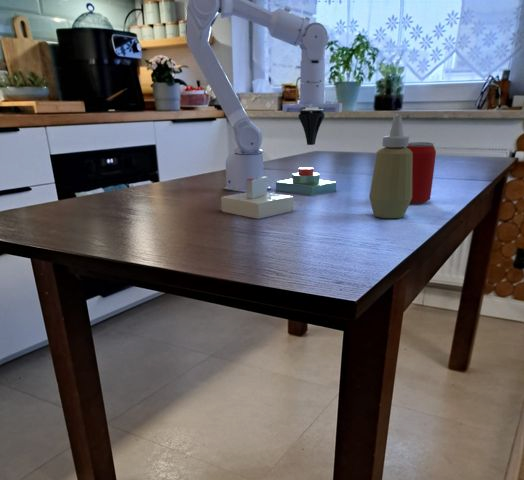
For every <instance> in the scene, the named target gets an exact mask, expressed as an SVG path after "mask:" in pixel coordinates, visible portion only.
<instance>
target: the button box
mask: <svg viewBox="0 0 524 480" xmlns="http://www.w3.org/2000/svg"><path fill="white" fill-rule="evenodd" d="M291 176H292V178H289V179H284V180H278V181H275V191H277V192H285V193H291V194H298V195H304V196H310V197H311V196H312V197H313V196H317V195H323V194H327V193H333V192H336V191H337V181H332V180H323V179H320V173H318V172H313V175H299V172H294V173H292V175H291Z"/></svg>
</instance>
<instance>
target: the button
mask: <svg viewBox="0 0 524 480" xmlns="http://www.w3.org/2000/svg"><path fill="white" fill-rule="evenodd" d="M298 173H299V175H313V173H314V167H311V166H307V167H306V166H305V167H304V166H302V167H299V168H298Z"/></svg>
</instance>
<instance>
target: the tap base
mask: <svg viewBox="0 0 524 480" xmlns="http://www.w3.org/2000/svg"><path fill="white" fill-rule="evenodd" d="M220 199H221V200H220V201H221V202H220V203H221V212H223V213H228V214H232V215H237V216H242V217H246V218H250V219H251V218H252V219H257V220H260V219H265V218H268V217H273V216H277V215H282V214H286V213H291V212H294V196H293V195H287V194H281V193H276V192H268V191H267V194H266V195H263V196H260V197H257V198H254V199H248V198H246V192H240V193H235V194H229V195H224V196H221V198H220Z"/></svg>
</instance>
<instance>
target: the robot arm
mask: <svg viewBox="0 0 524 480" xmlns="http://www.w3.org/2000/svg"><path fill="white" fill-rule="evenodd" d="M291 10H292V9H291V8H289V7H287V6H285V7H284V9H283V8H281V7H279V8H277V9H275V10H274V11H271V10H270V9H267V8H265V7H263V6H260V5H259V4H257V3H255V2H252V1H250V0H188V1H187V5H186V37H185V38H186V44H187V47H188V48H189V51H190V52H191V54H192V57H193V58H194V60H195V62H196V64H197V66H198V67H199V69H200V71H201V73H202V74H203V76H204V78H205V80H206V83H208V86H209V88H210V89H211V91H212V93H213V95H214V96H215V98H216V100H217V103H218V104H219V106H220V107H221V109H222V112H223V113H224V114H225V115H224V116H225V117H226V119H227V120H228V122H229V124H230V126H231V127H232V129H233V133H234V141H235V143H236V145H237V146H236V148H235V149H233V152H231V153H229V154H228V155H227V157H226V160H225V177H226V179H225V180H226V186H224V190H229V191H233V192H240V193H246V180H247V179H249V178H252V179H253V178H257V177H261V176H262V177H264V150H263V149H261V148H260V147H261V145H262V143H263V134H262V131H261V130H260V127H258V126H257V125H255V124H254V123H253V122H252V121H251V119H250V118H249V116H248V114H247V112H246V110H245V109H244V107H243V105H242V103H241V101H240V99H239V96H238V95H237V93H236V91H235V90H234V88H233V86H232V83H231V82H230V80H229V79H228V77H227V74H226V73H225V71H224V68H223V66H222V64H221V63H220V62H219V60H218V57H217V56H216V54H215V52H214V50H213V48H212V46H211V44H210V42H209V41H210V36H211V32H212V27H213V25H214V24H215V22H216V20H217V18H218V17H219V14H220V18H221V19H225V18H228V17H233V16H235V17H237V18H240V19H243V20H245V21H249V22H251V23H254V24H257V25H259V26H262V27H264V28H266V29H267V30H268V33H269V35H270V36H271V37H272V38H275V39H277V40H279V41H281V42H284V43H286V44H289V45H291V46H294V47H299V48H300V50H301V57H300V58H301V59H300V74H299V75H300V76H299V77H300V78H299V79H300V80H299V81H300V83H299V103H282V113H283V114H284V113H285V114H287V113H299V114H298V119H299V121H300V123H301V126H302V129H303V131H304V136H305V139H306V140H305V141H306V146H314V145H316V140H317V136H318V133H319V130H320V127H321V124H322V123H323V120H324V118H325V113H343V102H333V103H331V102H330V103H329V102H326V103H325V78H326V47H327V45H328V44H329V39H330V37H329V35H328V30H327V28H326V27H325V26H324V25H323V24H322V23H320V22H315V21H314V22H311V18H310V17H308V16H305V17H302V16H299V15H297V14H295V13H293V12H291ZM307 108H308V109H307ZM309 108H311V109H309ZM312 108H313V109H312ZM314 108H317V109H314ZM267 190H272V187H271V186H267Z"/></svg>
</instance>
